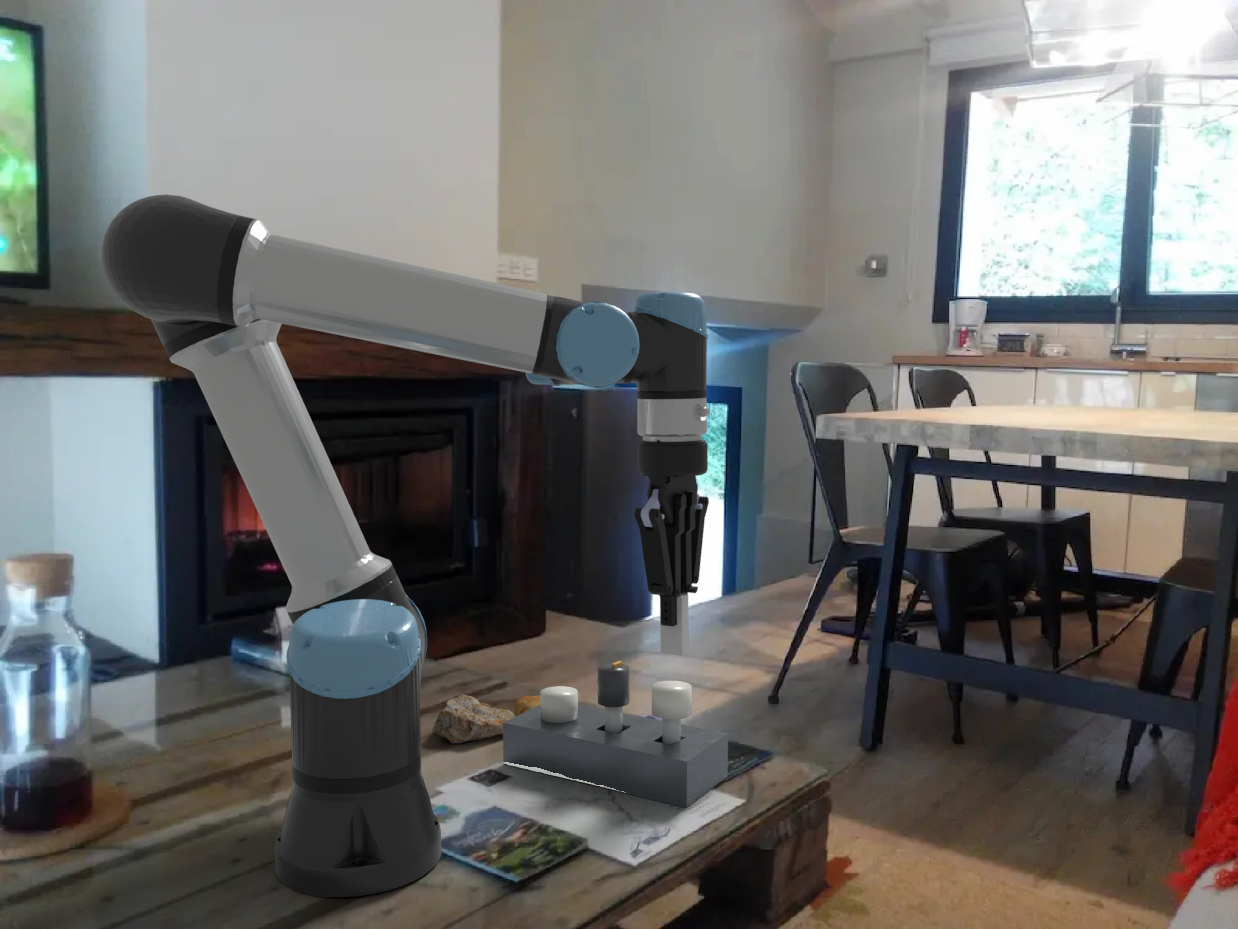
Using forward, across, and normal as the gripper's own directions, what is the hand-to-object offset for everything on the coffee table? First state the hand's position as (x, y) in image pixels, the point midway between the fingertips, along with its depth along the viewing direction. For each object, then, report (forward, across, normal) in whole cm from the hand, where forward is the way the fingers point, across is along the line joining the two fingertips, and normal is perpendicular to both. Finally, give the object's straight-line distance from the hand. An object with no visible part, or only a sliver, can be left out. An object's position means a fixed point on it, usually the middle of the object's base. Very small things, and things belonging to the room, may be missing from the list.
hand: (674, 652), depth 115 cm
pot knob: (+11, 0, +8) cm, 14 cm away
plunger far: (+14, 0, +15) cm, 21 cm away
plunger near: (+11, 0, 0) cm, 11 cm away
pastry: (+15, +9, +25) cm, 30 cm away
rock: (+15, +1, +30) cm, 33 cm away
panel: (+15, 0, +8) cm, 17 cm away
